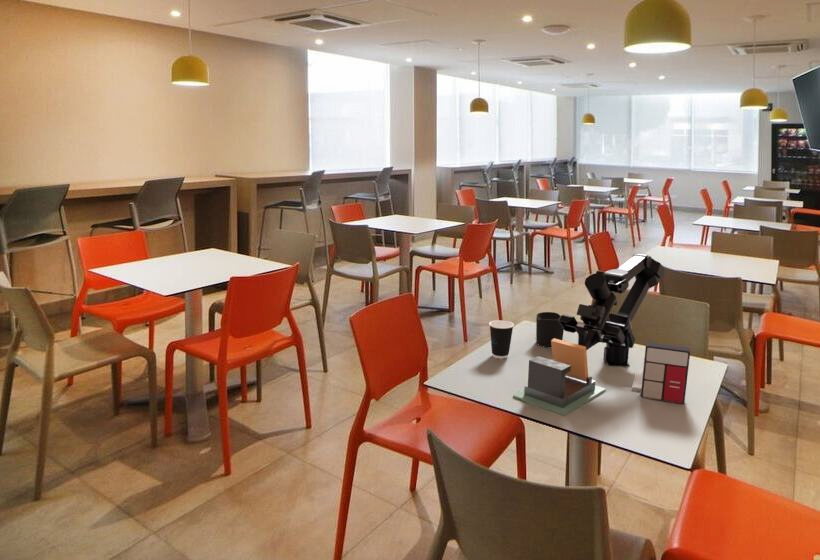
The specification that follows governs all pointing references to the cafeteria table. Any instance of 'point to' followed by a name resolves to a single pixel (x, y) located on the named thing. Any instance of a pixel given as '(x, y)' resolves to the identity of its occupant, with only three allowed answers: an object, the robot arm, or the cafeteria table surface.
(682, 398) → the panelled box
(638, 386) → the external hard drive
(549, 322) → the pen holder
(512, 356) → the cafeteria table surface
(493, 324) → the dixie cup
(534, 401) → the green flat slab
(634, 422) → the cafeteria table surface
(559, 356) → the orange upright panel
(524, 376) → the cafeteria table surface
